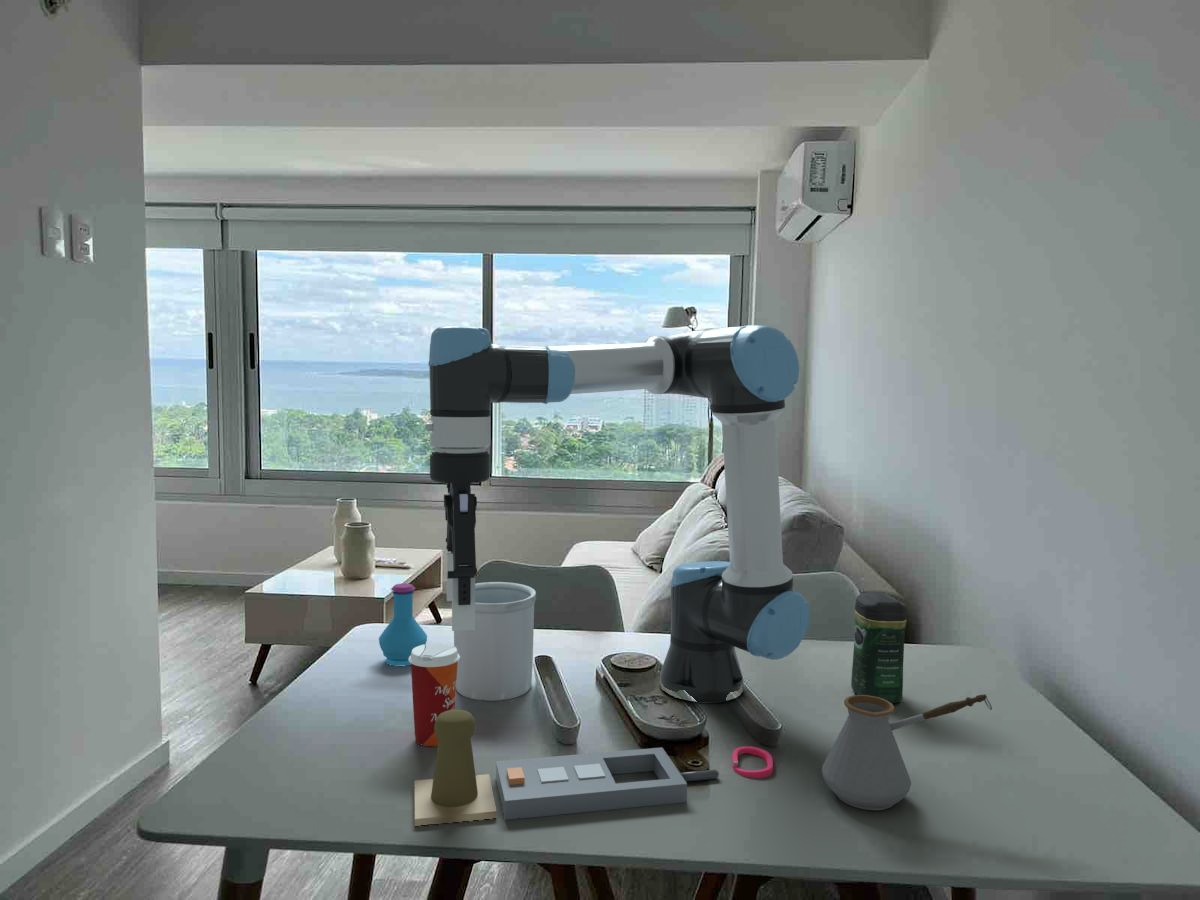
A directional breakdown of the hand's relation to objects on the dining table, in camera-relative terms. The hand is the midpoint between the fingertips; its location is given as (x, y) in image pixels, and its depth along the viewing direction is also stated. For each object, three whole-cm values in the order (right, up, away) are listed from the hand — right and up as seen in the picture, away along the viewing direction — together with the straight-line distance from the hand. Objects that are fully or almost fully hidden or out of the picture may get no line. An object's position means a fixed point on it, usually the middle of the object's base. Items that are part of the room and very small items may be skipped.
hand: (460, 614), depth 105 cm
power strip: (+20, -25, +6) cm, 32 cm away
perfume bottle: (-21, -20, +55) cm, 62 cm away
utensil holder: (-1, -22, +42) cm, 47 cm away
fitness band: (+40, -25, +14) cm, 49 cm away
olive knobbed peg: (-1, -24, +1) cm, 24 cm away
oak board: (-1, -25, +1) cm, 25 cm away
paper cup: (-7, -23, +20) cm, 32 cm away
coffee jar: (+68, -23, +42) cm, 83 cm away
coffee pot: (+59, -26, +5) cm, 64 cm away
